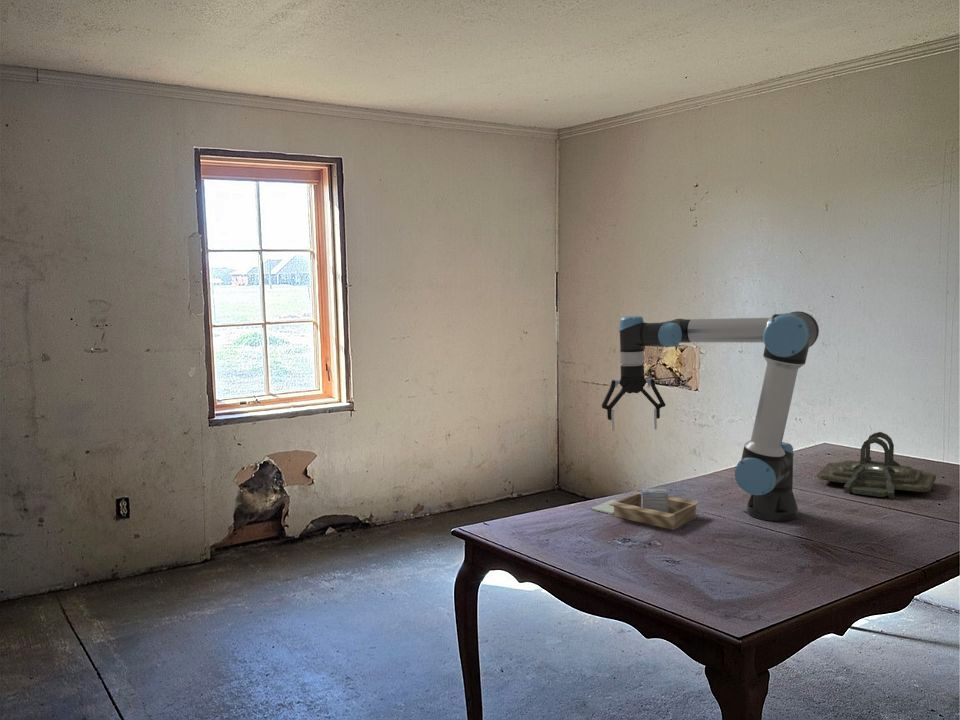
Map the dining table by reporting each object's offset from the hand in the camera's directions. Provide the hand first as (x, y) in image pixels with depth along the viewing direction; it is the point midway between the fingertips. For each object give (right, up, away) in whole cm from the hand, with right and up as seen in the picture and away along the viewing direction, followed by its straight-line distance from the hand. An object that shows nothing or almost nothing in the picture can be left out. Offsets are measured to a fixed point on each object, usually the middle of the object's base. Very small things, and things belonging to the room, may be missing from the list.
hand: (633, 429), depth 265 cm
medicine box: (+5, -27, -9) cm, 29 cm away
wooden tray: (+5, -27, -9) cm, 29 cm away
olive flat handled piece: (+87, -21, +18) cm, 92 cm away
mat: (-7, -26, +2) cm, 27 cm away
